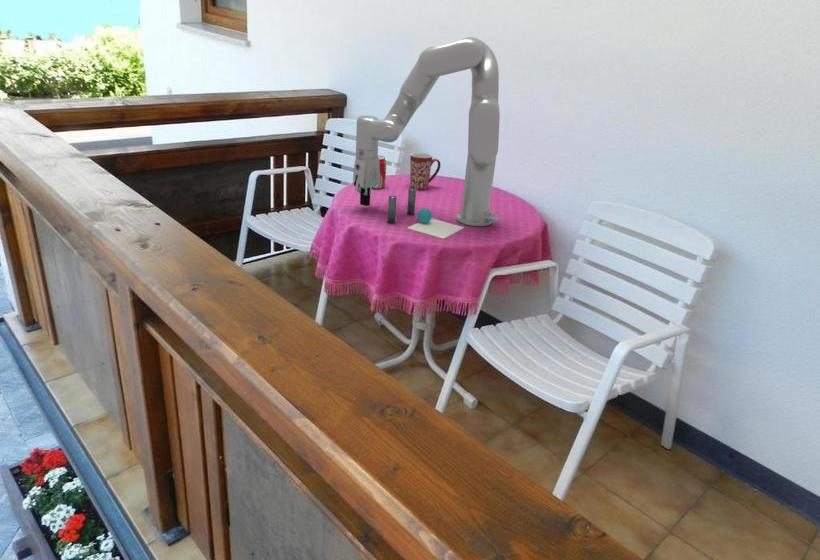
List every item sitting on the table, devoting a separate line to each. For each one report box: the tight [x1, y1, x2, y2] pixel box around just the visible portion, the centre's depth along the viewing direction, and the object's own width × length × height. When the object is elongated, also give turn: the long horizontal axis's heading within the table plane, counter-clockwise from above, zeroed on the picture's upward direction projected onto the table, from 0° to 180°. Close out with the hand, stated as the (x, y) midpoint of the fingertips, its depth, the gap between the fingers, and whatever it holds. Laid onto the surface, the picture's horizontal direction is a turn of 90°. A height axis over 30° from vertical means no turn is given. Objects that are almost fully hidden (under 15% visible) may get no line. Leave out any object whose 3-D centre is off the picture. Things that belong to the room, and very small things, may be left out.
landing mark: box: [406, 218, 465, 240], centre depth 198 cm, size 14×14×1 cm
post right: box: [406, 188, 417, 216], centre depth 207 cm, size 3×3×9 cm
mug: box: [409, 151, 441, 191], centre depth 237 cm, size 13×9×14 cm
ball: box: [416, 208, 433, 223], centre depth 200 cm, size 5×5×5 cm
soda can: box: [372, 155, 387, 190], centre depth 233 cm, size 7×7×12 cm
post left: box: [386, 195, 397, 225], centre depth 198 cm, size 3×3×9 cm
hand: (364, 204), depth 210 cm, fingers closed
